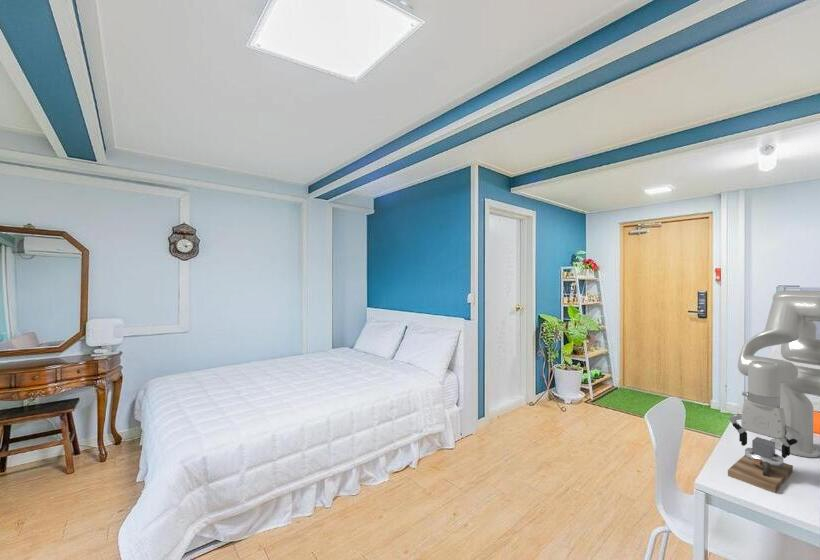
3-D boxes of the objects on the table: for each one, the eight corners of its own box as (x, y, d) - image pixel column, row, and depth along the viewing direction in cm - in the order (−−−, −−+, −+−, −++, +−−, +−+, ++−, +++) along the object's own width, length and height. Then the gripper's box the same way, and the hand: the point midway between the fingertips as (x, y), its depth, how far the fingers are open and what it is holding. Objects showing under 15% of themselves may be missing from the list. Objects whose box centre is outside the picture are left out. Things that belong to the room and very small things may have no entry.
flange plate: (750, 449, 122) (750, 432, 122) (787, 461, 114) (787, 443, 114) (738, 458, 116) (738, 440, 116) (776, 471, 108) (776, 452, 108)
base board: (748, 457, 126) (748, 440, 126) (792, 471, 116) (793, 453, 116) (727, 475, 115) (727, 457, 114) (775, 493, 105) (775, 473, 105)
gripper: (725, 394, 121) (725, 443, 121) (799, 410, 106) (799, 465, 106) (733, 390, 125) (733, 437, 125) (805, 405, 110) (805, 458, 110)
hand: (763, 450), depth 116 cm, fingers open, 9 cm apart
